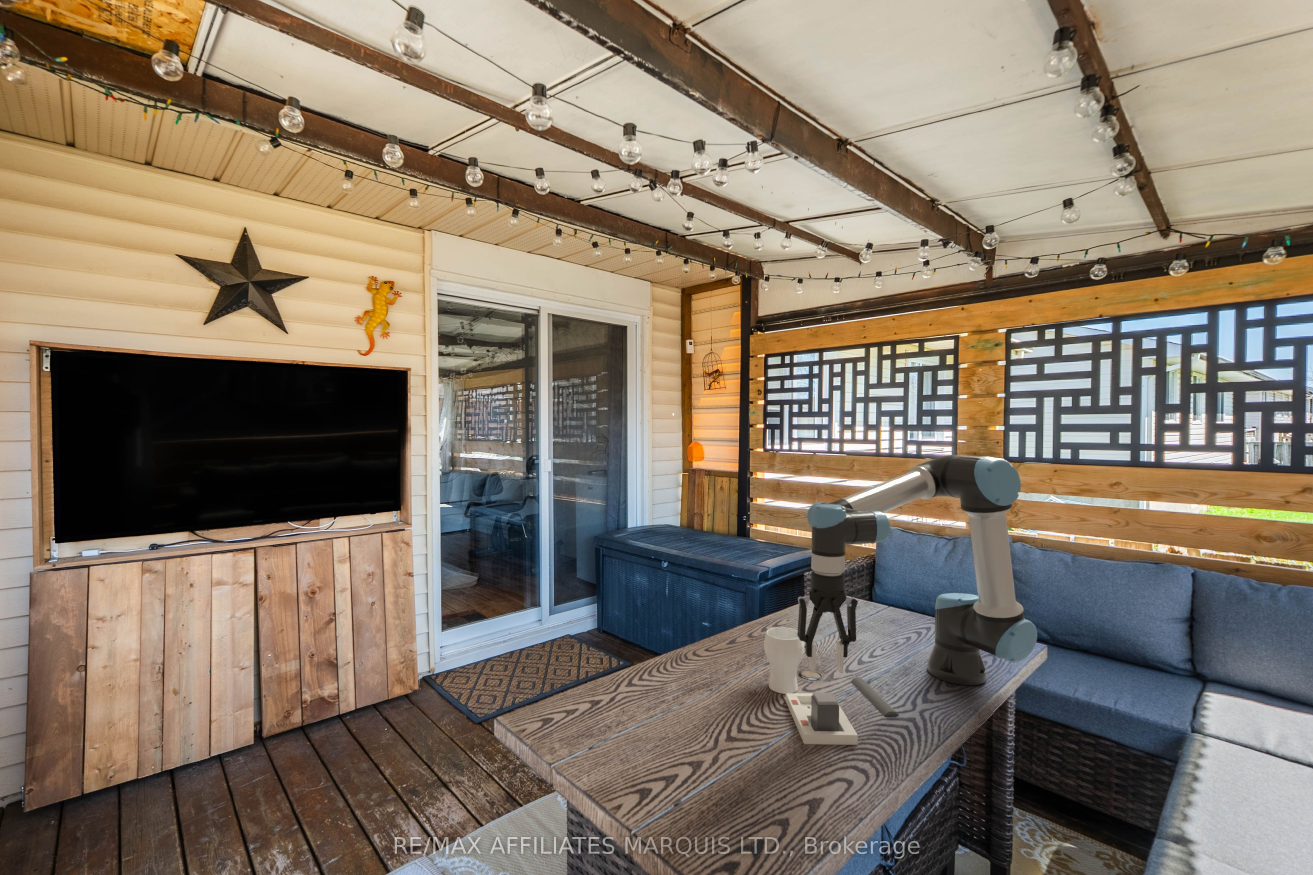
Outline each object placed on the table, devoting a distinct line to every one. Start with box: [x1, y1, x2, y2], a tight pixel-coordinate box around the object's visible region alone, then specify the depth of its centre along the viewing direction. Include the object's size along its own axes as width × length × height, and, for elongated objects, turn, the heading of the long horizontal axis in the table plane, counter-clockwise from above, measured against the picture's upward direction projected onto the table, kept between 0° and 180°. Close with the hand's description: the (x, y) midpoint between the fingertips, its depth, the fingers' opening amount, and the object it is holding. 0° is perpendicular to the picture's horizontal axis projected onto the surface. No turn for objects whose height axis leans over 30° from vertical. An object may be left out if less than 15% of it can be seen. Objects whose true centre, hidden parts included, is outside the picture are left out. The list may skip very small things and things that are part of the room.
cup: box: [763, 626, 805, 695], centre depth 160 cm, size 11×11×15 cm
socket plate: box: [785, 692, 859, 746], centre depth 143 cm, size 12×20×2 cm, turn 179°
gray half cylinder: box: [851, 676, 899, 717], centre depth 155 cm, size 4×20×2 cm, turn 6°
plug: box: [811, 692, 840, 731], centre depth 138 cm, size 5×5×8 cm
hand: (826, 669), depth 137 cm, fingers open, 6 cm apart
